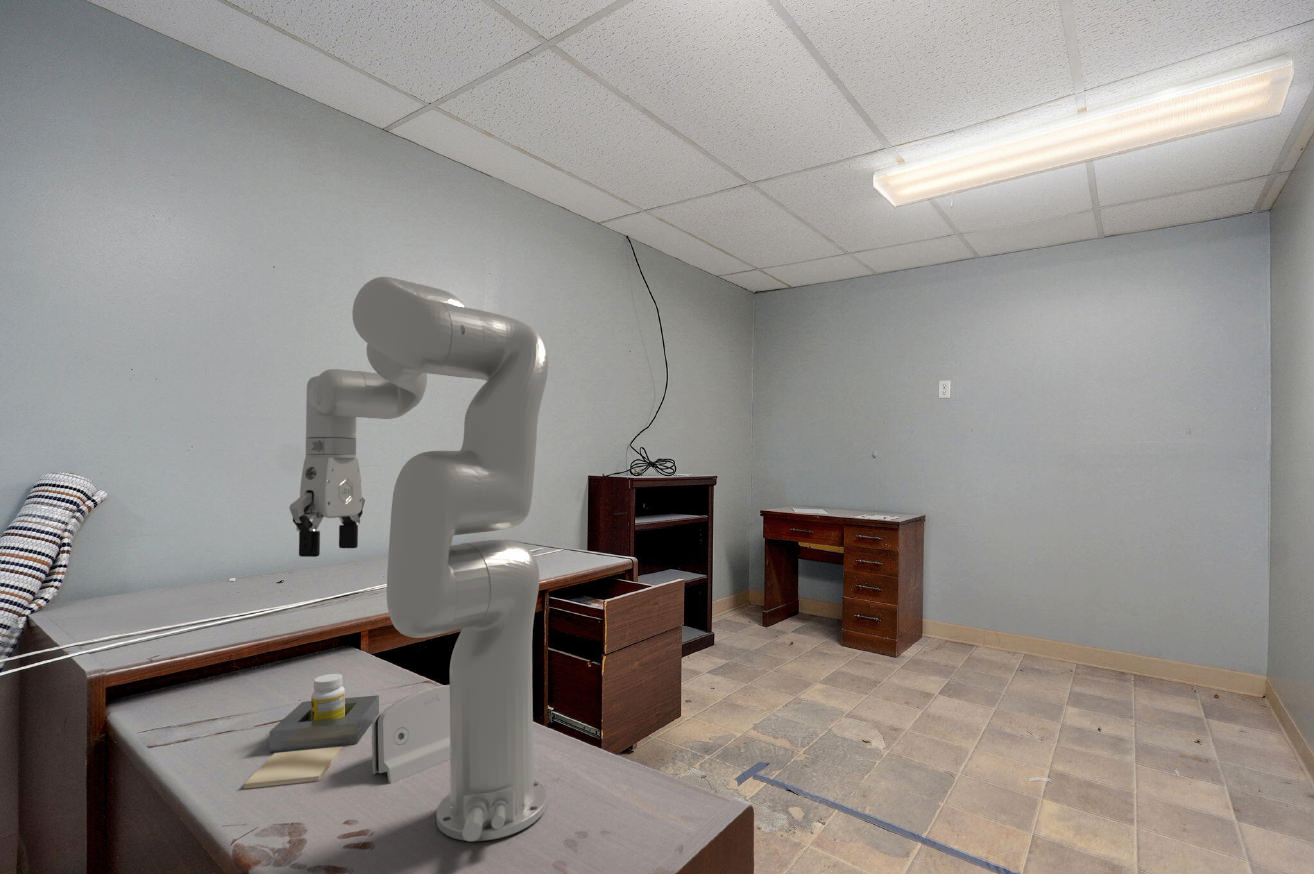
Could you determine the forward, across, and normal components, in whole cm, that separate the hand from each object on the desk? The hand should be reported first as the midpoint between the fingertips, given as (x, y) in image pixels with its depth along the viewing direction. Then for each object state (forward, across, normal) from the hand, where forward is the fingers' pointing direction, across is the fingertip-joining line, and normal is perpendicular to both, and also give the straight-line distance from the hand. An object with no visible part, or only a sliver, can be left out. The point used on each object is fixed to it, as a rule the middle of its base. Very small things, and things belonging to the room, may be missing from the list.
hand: (329, 552), depth 101 cm
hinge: (+28, -10, -24) cm, 38 cm away
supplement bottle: (+28, -4, -3) cm, 28 cm away
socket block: (+28, -4, -3) cm, 28 cm away
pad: (+28, -16, -7) cm, 32 cm away
